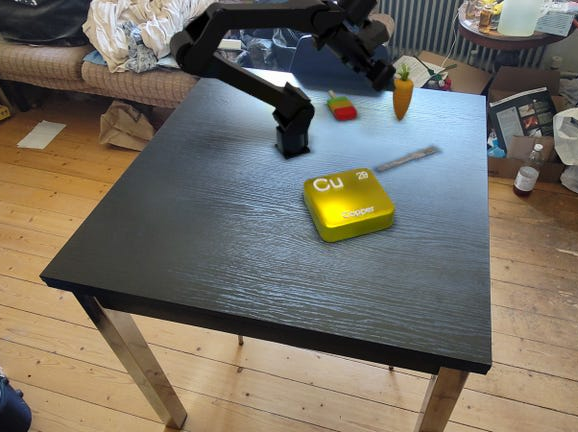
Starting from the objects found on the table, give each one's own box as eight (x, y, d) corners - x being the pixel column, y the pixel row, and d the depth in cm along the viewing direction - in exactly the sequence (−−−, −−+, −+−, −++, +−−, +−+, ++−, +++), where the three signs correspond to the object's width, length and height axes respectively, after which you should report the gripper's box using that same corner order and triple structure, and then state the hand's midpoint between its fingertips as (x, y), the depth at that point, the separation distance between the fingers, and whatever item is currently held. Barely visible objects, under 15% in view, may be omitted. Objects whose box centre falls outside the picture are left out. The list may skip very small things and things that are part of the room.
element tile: (323, 245, 82) (323, 227, 79) (301, 195, 93) (300, 178, 89) (396, 226, 86) (399, 208, 83) (367, 181, 96) (368, 163, 93)
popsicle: (338, 122, 114) (338, 115, 113) (320, 95, 124) (320, 89, 123) (358, 118, 115) (358, 112, 114) (339, 92, 126) (339, 86, 125)
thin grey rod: (380, 172, 99) (380, 171, 98) (375, 168, 100) (375, 167, 100) (437, 151, 105) (438, 150, 105) (432, 147, 106) (433, 146, 106)
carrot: (408, 126, 113) (415, 70, 103) (388, 124, 114) (394, 68, 103) (409, 116, 116) (417, 61, 106) (390, 114, 117) (396, 59, 107)
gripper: (392, 26, 85) (430, 69, 97) (347, -2, 98) (386, 39, 109) (355, 73, 88) (396, 109, 99) (316, 39, 100) (357, 76, 112)
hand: (384, 81), depth 105 cm, fingers open, 9 cm apart
